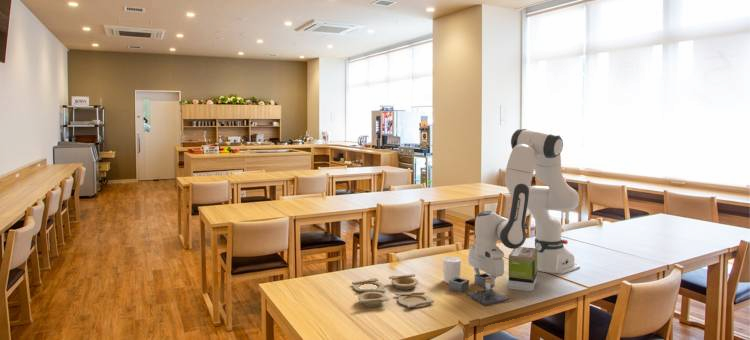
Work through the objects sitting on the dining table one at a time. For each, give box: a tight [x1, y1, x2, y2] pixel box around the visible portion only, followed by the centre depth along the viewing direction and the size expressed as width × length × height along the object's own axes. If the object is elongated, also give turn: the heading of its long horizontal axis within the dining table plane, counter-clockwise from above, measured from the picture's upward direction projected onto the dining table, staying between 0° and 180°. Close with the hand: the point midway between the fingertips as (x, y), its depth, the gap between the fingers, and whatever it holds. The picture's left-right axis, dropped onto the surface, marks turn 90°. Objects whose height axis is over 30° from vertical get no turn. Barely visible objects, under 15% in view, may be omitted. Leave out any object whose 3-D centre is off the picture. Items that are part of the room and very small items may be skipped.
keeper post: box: [466, 279, 511, 307], centre depth 194 cm, size 12×12×8 cm
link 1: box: [448, 277, 470, 294], centre depth 204 cm, size 6×6×4 cm
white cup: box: [442, 256, 462, 284], centre depth 214 cm, size 8×8×10 cm
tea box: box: [508, 246, 538, 292], centre depth 208 cm, size 15×10×15 cm
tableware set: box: [351, 273, 435, 309], centre depth 199 cm, size 35×29×4 cm
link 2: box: [474, 272, 496, 289], centre depth 209 cm, size 6×6×4 cm
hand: (484, 280), depth 208 cm, fingers open, 8 cm apart
